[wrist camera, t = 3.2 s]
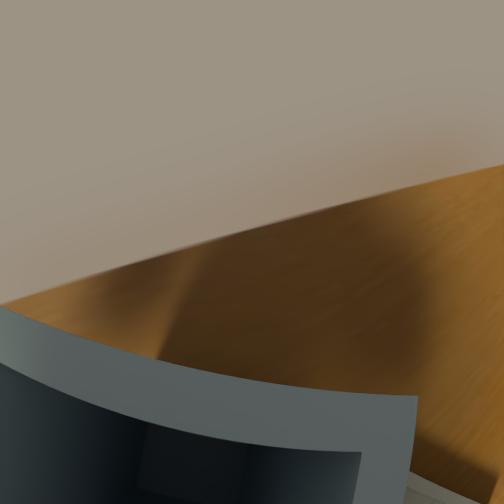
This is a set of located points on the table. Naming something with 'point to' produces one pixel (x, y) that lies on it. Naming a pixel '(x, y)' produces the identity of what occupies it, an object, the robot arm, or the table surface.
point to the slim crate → (184, 431)
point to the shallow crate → (430, 493)
